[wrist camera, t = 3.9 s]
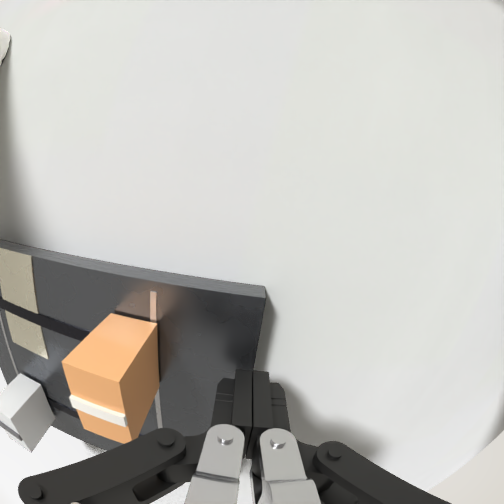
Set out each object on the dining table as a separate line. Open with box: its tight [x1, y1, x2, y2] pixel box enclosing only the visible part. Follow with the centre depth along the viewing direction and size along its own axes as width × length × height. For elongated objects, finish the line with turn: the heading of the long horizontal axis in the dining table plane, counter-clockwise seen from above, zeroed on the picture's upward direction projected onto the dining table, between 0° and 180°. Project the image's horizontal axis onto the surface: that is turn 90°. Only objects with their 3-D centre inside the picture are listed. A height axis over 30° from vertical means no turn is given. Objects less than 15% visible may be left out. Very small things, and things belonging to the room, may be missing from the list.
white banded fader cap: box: [0, 373, 55, 452], centre depth 11 cm, size 2×4×5 cm, turn 172°
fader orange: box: [62, 313, 160, 444], centre depth 10 cm, size 2×4×5 cm, turn 172°
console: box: [0, 240, 266, 451], centre depth 14 cm, size 21×16×2 cm
